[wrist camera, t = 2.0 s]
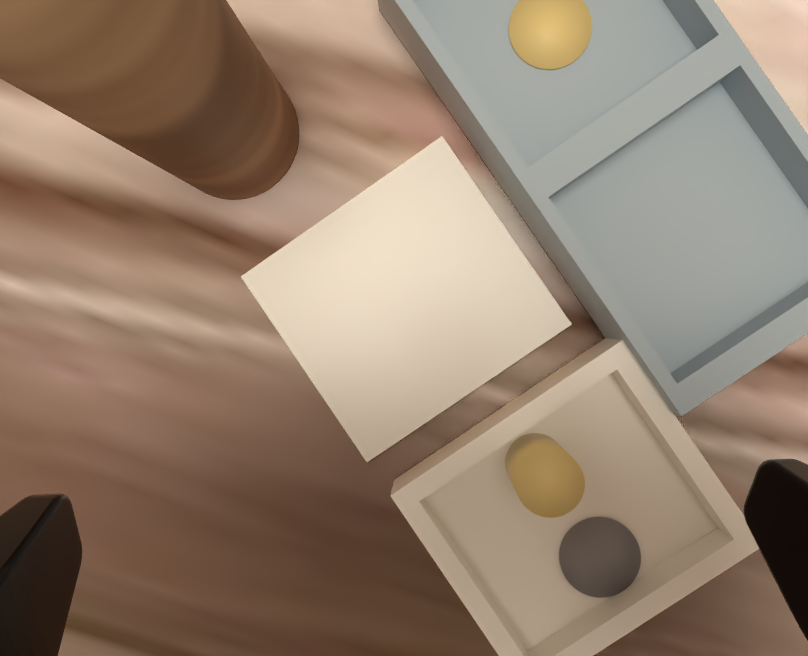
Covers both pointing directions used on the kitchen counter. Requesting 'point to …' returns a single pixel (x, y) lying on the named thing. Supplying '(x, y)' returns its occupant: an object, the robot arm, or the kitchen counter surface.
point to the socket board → (637, 168)
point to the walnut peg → (158, 85)
